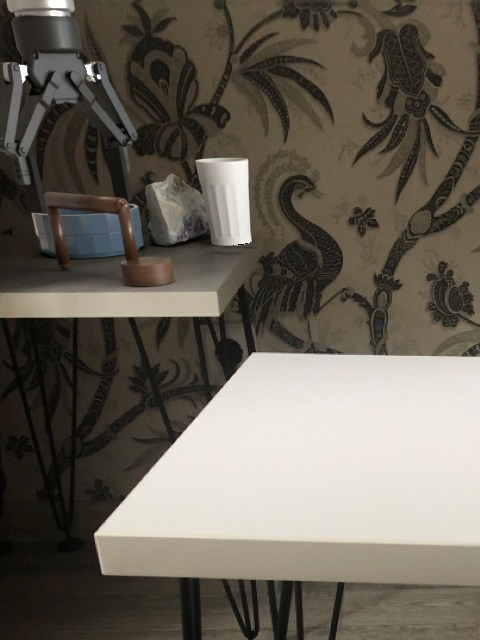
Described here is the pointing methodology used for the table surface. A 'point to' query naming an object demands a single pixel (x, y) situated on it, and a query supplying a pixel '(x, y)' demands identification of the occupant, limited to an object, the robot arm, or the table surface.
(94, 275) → the table surface
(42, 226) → the bowl
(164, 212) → the mineral rock
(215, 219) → the cup
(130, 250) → the bent rod with disc
